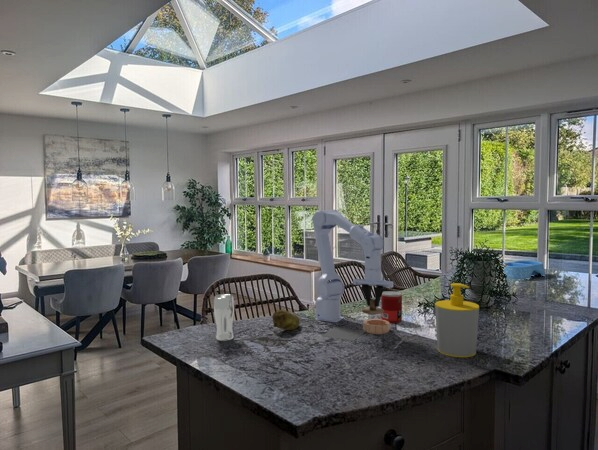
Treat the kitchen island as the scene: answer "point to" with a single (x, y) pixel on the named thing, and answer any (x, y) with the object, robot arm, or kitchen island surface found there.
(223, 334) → the beer glass
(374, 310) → the lid
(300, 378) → the kitchen island surface
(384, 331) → the tan round bowl
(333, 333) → the mat
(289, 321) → the potato
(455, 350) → the soap bottle
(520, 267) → the dog bowl
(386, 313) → the canned food
